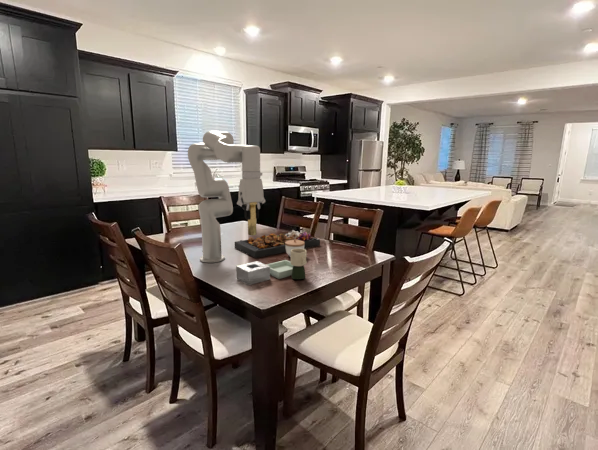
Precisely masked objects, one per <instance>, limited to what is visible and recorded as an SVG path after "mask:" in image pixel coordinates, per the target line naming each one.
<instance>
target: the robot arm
mask: <svg viewBox="0 0 598 450" xmlns="http://www.w3.org/2000/svg"><path fill="white" fill-rule="evenodd" d="M234 142H235V140H234V137H233V135H232V133H231V132H228V131H221V130H220V131H219V130H209V131H206V132H205V133H204V134H203V136H202V142H198V143H197V142H195V143H192V144H190V145H189V146H188V148H187V157H188V158H187V159H188V161H189V164H190V166H191V168H192V171H193V173H194V179H195V183H196V190H197V192H198V195H199V196H200V198H211V199H204V200H202V201H201V202H199V204H198V214H199V218H200V224H201V242H202V243H201V244H202V247H201V248H202V250H201V251H202V256H200V257H199V260H200V262H202V263H208V264H210V263H211V264H212V263H220V262H222V261H224V260H225V257H226V256H225V255H223V254H222V232H221V231H222V230H221V224H220V222H219V221H218V220H217V218H223V217H229V216H231V215H232V214H233V212H234V207H233V200H232V196H231V191H230V188H229V184H228V182H227V181H226V180H225V179H224V178H221V177H220V178H219V177H218V178H214V177H213V174H212V170H211V168H210V166H209V165H208V164H207V163H206V162H205V161H222V162H224V163H227V164H231V163H232V164H234V163H235V164H238V163H239V164H240V163H241V178H239V179H240V180H239V185H238V199H237V202H236V205H238V206H240V207H241V208H242V209H243V210H244V214H243V216H244V219H245V220H247V221H248V220H250V210H249V204H250V203H251V202H257V205H256V220H257V219H259V218H260V209H261V207H262V205H263V204H265V203H266V199H265V197H264V186H263V180H262V178H261V177H262V176H263V172H261V147H260V146H258V145H250V144H249V145H248V144H234Z"/></svg>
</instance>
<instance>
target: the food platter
mask: <svg viewBox="0 0 598 450" xmlns="http://www.w3.org/2000/svg"><path fill="white" fill-rule="evenodd" d="M294 239H296V240H301V241H304V242H305V246H304V249H305V250H306V249H309V248H314V247H319V246H321V240H320V239H319V238H316V237H313V236H312V235H311V234H310V233H308V232H307V230H306V231H304V232H303V233H302V232H299V231H298V230H297V231H295V230H294V229H292V230H291V231H290V232H288V233H279V234H276V233H270V234H269V235H266V234H262V235H261V236H260V237H256V238H254V237H251V236H250V237H249V238H248V239H245V240H243V239H241V240H238V241H237V240H236V241H234V249H236V250H238V251H240V252H241V253H244V254H246V255H248V256H250V257H252V258H254V259H258V258H264V257H268V256H272V255H279V254H283V253H287V252H286V249H285V242H286V241H289V240H294Z"/></svg>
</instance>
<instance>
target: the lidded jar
mask: <svg viewBox="0 0 598 450" xmlns="http://www.w3.org/2000/svg"><path fill="white" fill-rule="evenodd" d="M304 246H305V242H304V241H301V240H296V239H294V240H289V241H286V242H285V249H286V252H285V253H286V254H287V255H288V257H290V258H291V250H292V249H304Z"/></svg>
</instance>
